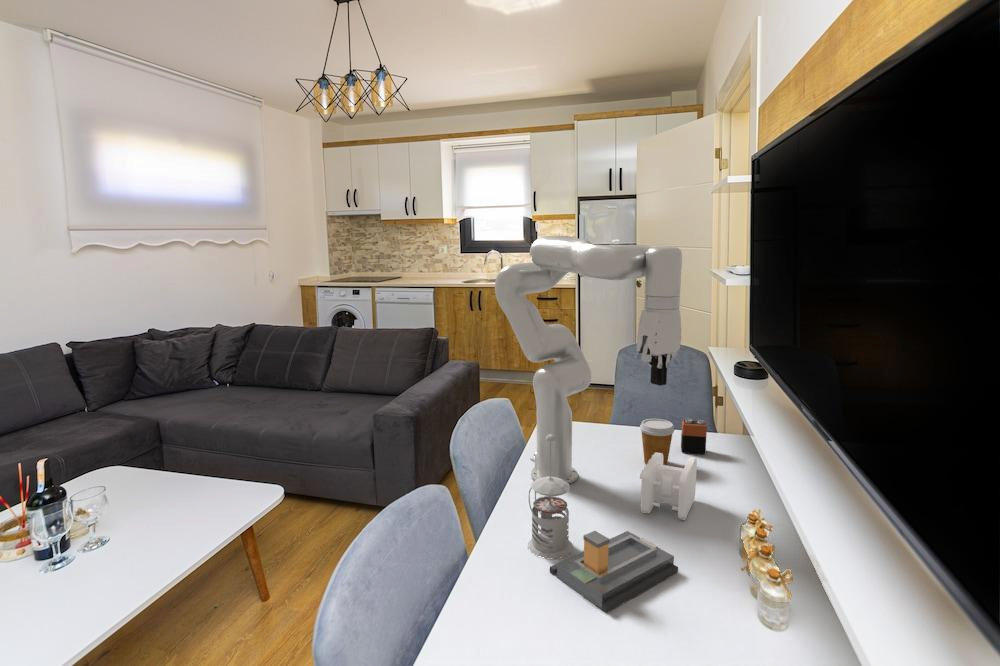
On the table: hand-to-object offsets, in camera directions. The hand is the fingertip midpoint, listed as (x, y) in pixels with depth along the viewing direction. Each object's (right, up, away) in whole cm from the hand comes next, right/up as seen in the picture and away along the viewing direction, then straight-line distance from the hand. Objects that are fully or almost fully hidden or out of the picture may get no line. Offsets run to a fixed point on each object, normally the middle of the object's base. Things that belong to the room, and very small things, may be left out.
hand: (658, 383), depth 129 cm
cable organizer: (+5, -31, +9) cm, 33 cm away
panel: (-13, -36, -17) cm, 42 cm away
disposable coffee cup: (+9, -26, +35) cm, 45 cm away
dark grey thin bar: (-9, -37, -22) cm, 44 cm away
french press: (-26, -34, -6) cm, 43 cm away
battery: (+22, -25, +43) cm, 55 cm away
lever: (-18, -33, -21) cm, 43 cm away
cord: (-18, -35, -11) cm, 40 cm away
